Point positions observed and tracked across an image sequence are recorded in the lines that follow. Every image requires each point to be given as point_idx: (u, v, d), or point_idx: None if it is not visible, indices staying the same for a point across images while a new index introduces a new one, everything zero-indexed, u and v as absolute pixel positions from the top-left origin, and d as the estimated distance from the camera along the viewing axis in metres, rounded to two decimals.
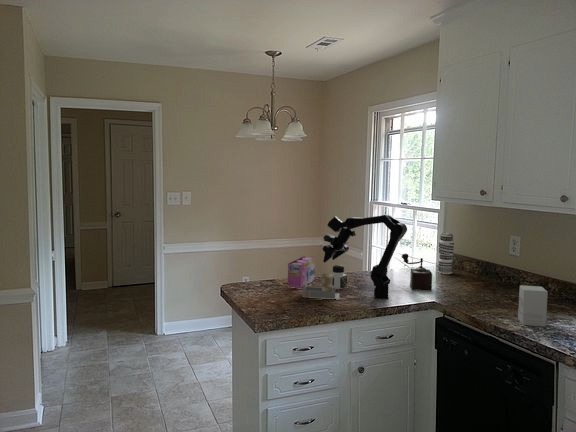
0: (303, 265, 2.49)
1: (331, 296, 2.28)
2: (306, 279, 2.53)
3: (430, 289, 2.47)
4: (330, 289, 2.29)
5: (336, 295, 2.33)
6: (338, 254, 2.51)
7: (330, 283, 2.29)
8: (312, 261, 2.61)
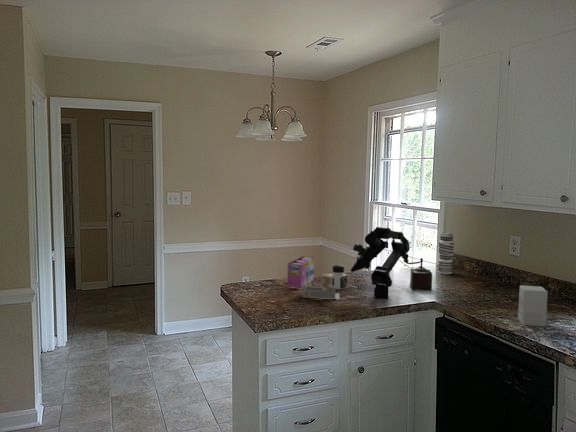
0: (303, 265, 2.49)
1: (331, 296, 2.28)
2: (306, 279, 2.53)
3: (430, 289, 2.47)
4: (330, 289, 2.29)
5: (336, 295, 2.33)
6: None
7: (330, 283, 2.29)
8: (311, 261, 2.61)
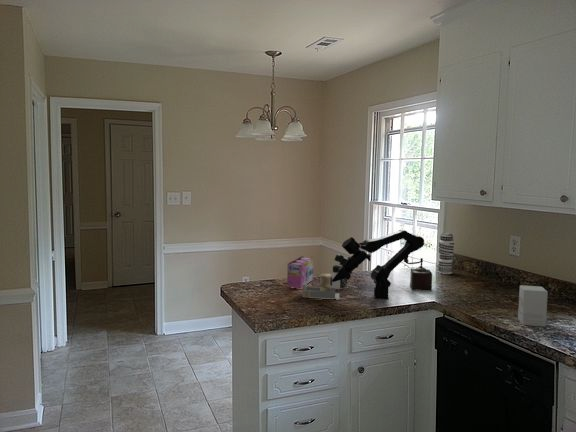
0: (303, 265, 2.49)
1: (331, 296, 2.28)
2: (305, 279, 2.53)
3: (430, 289, 2.47)
4: (328, 289, 2.29)
5: (336, 295, 2.33)
6: None
7: (328, 283, 2.29)
8: (310, 261, 2.62)
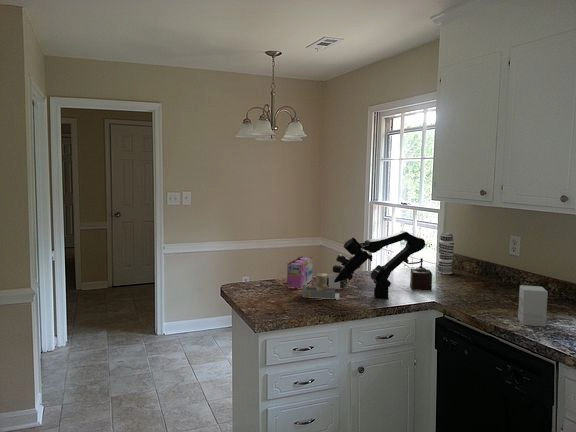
0: (302, 265, 2.49)
1: (331, 296, 2.28)
2: (305, 279, 2.53)
3: (430, 289, 2.47)
4: (324, 289, 2.29)
5: (336, 295, 2.33)
6: None
7: (324, 283, 2.29)
8: (310, 261, 2.62)
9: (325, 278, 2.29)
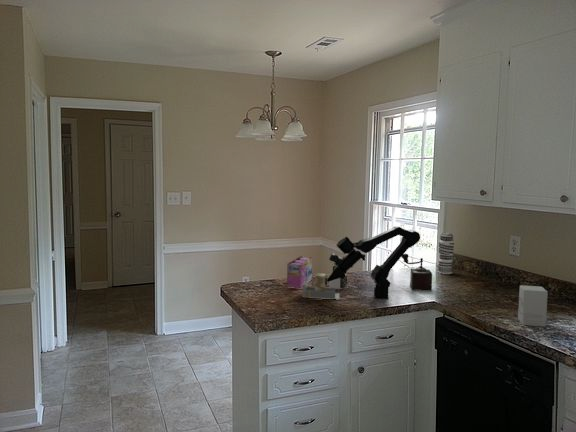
0: (302, 265, 2.49)
1: (331, 296, 2.28)
2: (305, 279, 2.54)
3: (430, 289, 2.47)
4: (323, 289, 2.30)
5: (336, 295, 2.33)
6: None
7: (323, 283, 2.29)
8: (310, 261, 2.62)
9: (323, 278, 2.29)
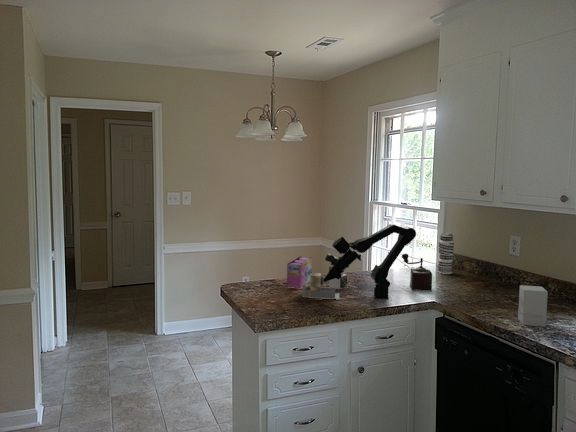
0: (302, 265, 2.49)
1: (331, 296, 2.28)
2: (305, 279, 2.54)
3: (430, 289, 2.47)
4: (318, 289, 2.30)
5: (336, 295, 2.33)
6: None
7: (318, 283, 2.30)
8: (309, 261, 2.62)
9: (319, 278, 2.29)
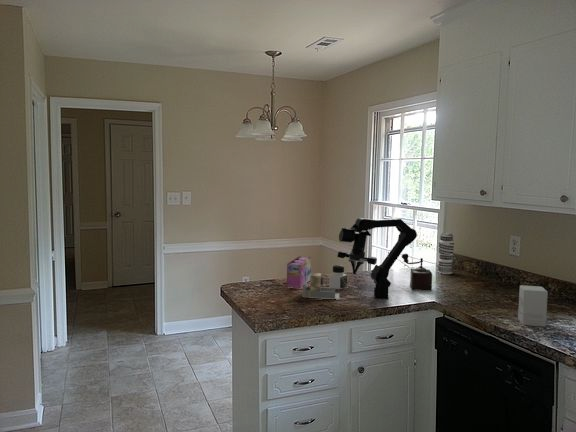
0: (302, 265, 2.49)
1: (331, 296, 2.28)
2: (304, 279, 2.54)
3: (430, 289, 2.47)
4: (318, 289, 2.30)
5: (336, 295, 2.33)
6: (355, 265, 2.31)
7: (318, 283, 2.30)
8: (309, 261, 2.62)
9: (319, 278, 2.29)
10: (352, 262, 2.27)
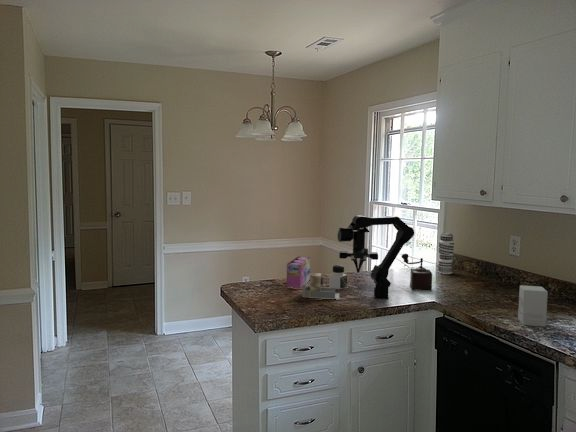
0: (302, 265, 2.49)
1: (331, 296, 2.28)
2: (304, 279, 2.54)
3: (430, 289, 2.47)
4: (318, 289, 2.30)
5: (336, 295, 2.33)
6: None
7: (318, 283, 2.30)
8: (308, 261, 2.62)
9: (319, 278, 2.29)
10: (355, 261, 2.27)
